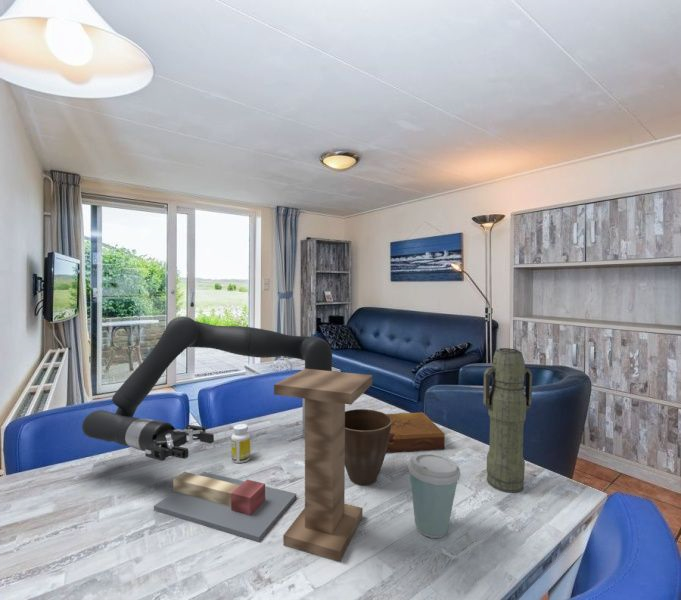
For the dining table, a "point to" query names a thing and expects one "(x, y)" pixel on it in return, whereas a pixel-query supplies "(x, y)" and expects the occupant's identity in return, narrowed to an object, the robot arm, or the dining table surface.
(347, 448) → the plant pot
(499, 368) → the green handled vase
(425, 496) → the disposable coffee cup
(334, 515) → the brown tall pedestal shape
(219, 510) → the mat
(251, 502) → the bar
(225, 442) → the dining table surface
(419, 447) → the diary
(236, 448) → the supplement bottle
